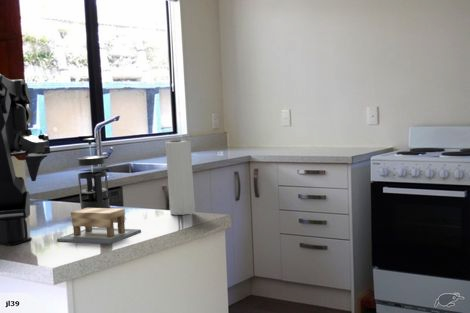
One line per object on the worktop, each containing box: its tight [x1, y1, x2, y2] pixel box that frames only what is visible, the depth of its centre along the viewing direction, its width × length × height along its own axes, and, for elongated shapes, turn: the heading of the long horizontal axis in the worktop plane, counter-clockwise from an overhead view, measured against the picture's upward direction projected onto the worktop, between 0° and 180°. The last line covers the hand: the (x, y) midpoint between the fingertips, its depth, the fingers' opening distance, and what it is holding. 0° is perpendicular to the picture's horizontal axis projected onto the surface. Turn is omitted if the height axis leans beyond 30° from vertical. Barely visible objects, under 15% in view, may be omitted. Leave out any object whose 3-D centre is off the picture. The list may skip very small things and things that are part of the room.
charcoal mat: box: [56, 227, 142, 245], centre depth 148 cm, size 13×16×1 cm
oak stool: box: [70, 207, 126, 238], centre depth 147 cm, size 12×6×6 cm, turn 64°
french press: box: [76, 137, 111, 209], centre depth 187 cm, size 12×9×23 cm
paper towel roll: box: [164, 140, 196, 216], centre depth 171 cm, size 7×6×21 cm
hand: (21, 183), depth 160 cm, fingers open, 9 cm apart
